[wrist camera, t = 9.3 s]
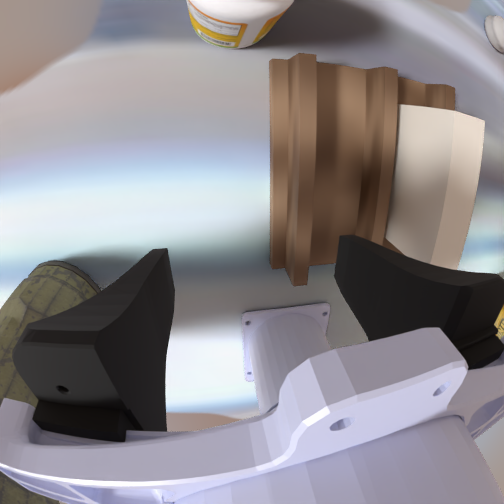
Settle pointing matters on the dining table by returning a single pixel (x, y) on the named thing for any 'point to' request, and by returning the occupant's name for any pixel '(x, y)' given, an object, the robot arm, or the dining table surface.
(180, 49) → the dining table surface
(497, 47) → the rook chess piece
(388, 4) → the dining table surface
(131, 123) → the dining table surface
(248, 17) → the supplement bottle
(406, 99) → the rack
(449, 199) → the beige rectangular block
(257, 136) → the dining table surface
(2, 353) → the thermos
